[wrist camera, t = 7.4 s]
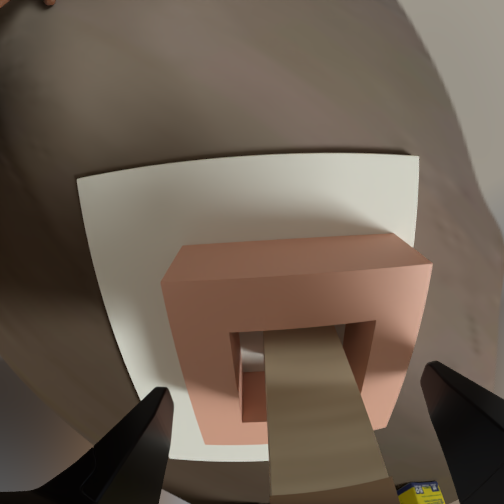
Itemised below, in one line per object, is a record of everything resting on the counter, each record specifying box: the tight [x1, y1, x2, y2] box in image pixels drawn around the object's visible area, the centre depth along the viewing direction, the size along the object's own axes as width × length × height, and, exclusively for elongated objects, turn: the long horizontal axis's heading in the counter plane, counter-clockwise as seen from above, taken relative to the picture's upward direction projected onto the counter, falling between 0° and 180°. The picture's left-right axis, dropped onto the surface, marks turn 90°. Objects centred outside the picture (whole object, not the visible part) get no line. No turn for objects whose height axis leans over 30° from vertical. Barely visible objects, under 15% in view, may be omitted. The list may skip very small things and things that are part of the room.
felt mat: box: [77, 153, 419, 462], centre depth 13 cm, size 18×13×1 cm
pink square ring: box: [160, 233, 433, 445], centre depth 11 cm, size 8×8×3 cm
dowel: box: [263, 325, 400, 504], centre depth 8 cm, size 3×3×9 cm
